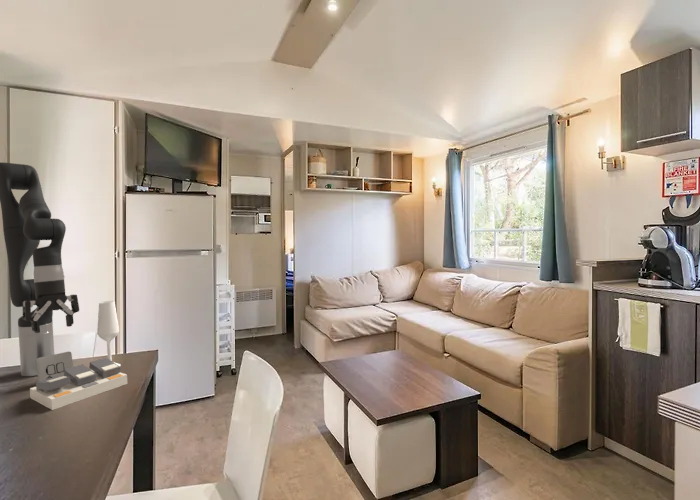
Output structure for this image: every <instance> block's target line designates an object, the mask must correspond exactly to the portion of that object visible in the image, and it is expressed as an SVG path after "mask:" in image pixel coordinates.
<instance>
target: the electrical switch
mask: <svg viewBox="0 0 700 500" xmlns="http://www.w3.org/2000/svg"><path fill="white" fill-rule="evenodd" d="M36 365H37V373H38V375H37V378H38V379H37V382H38V381H42V380H45V379H49V378H52V377H56V376H58V377H62V376H64V369H68V368H71V367H74V363H73V354H72V352H71V351H64V352H60V353H54V355H50V356H45V357H41V358H37V359H36Z"/></svg>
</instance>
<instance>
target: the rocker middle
mask: <svg viewBox="0 0 700 500" xmlns="http://www.w3.org/2000/svg"><path fill="white" fill-rule="evenodd" d="M96 375H97V374H96V373H94V372H93V371H91V369H90V368H89V367H87V366H86V365H84V364H79V365H75V366H73V367H71V368H68V369H64V376H67V377H69V380H70V381H72V382H73V383H74V384H75V385H77V386H80V385H83V384H86V383H89V382H92V381H95V380H96Z"/></svg>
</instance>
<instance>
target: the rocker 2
mask: <svg viewBox="0 0 700 500" xmlns="http://www.w3.org/2000/svg"><path fill="white" fill-rule="evenodd" d="M114 362H115V361H113V360H112V361H111V360H109V359H108V357H104V358H100V359H97V360H96V359H95V360H93V361H90V362H89V366H88V368H89V369H90V370H93V371H94V372H96V373H97V374H98V375H100V376H101V377H103V378H105V377H108V376H111V375H114V374H117V373H120V372H121V366H118V365H117V364H115V363H116V362H115V363H114Z"/></svg>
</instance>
